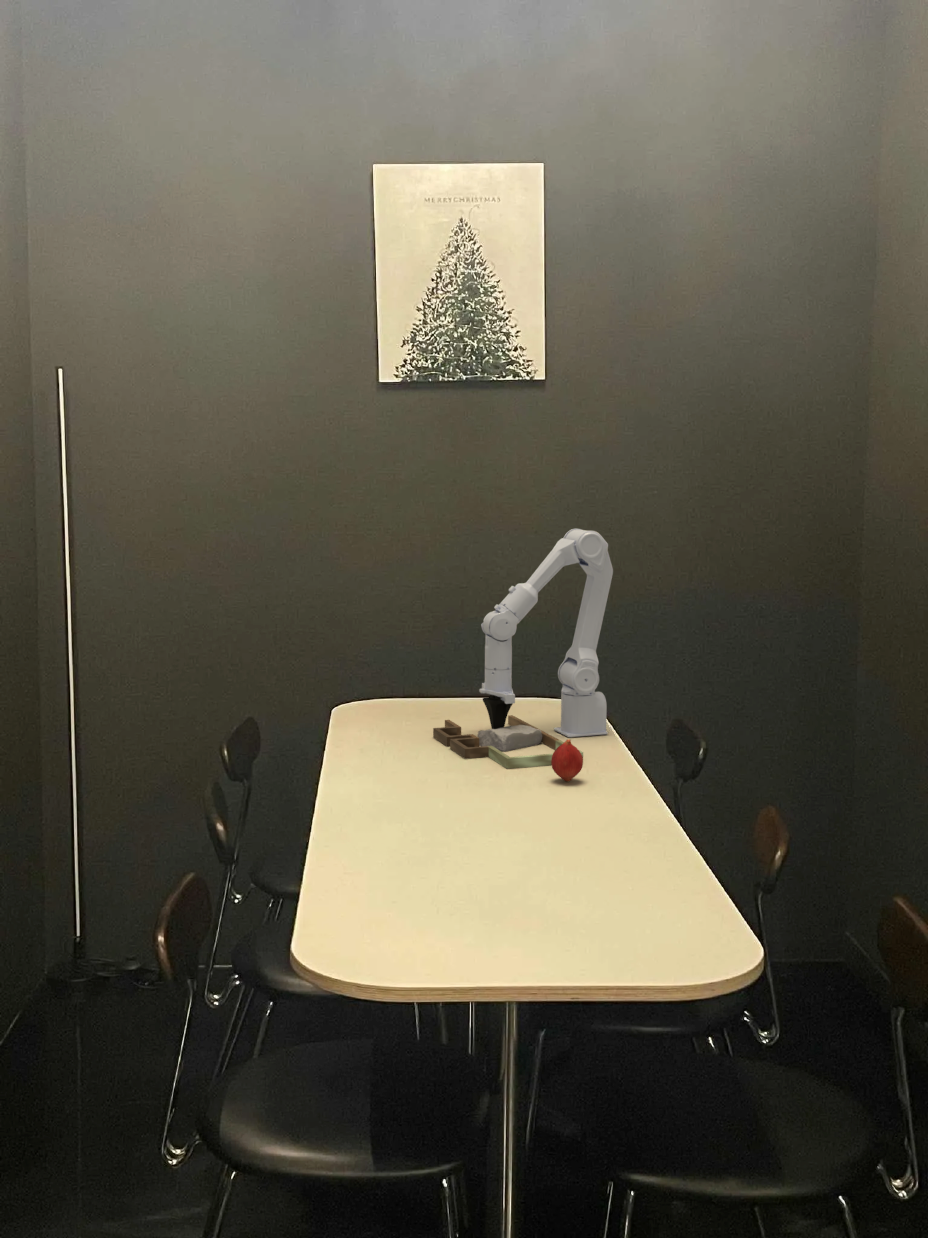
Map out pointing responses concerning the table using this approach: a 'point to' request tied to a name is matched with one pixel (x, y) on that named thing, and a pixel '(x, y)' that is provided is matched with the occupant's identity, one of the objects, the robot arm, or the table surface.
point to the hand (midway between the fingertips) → (497, 731)
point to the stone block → (510, 737)
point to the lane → (470, 746)
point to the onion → (567, 761)
